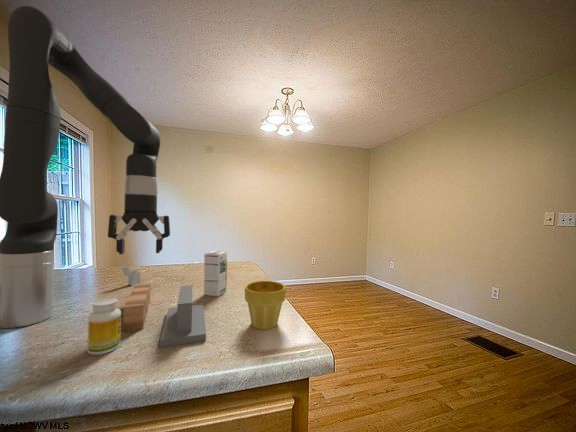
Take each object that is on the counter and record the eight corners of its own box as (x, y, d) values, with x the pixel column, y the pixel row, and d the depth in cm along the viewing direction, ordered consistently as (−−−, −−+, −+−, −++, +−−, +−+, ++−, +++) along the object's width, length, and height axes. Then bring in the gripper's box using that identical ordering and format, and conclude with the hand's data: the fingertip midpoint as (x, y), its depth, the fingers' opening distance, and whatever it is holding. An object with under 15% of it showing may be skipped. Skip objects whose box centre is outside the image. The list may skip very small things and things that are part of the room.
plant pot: (268, 338, 55) (269, 295, 55) (235, 325, 61) (236, 286, 60) (292, 321, 64) (293, 284, 64) (261, 312, 69) (262, 278, 69)
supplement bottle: (85, 348, 49) (86, 301, 49) (117, 338, 53) (118, 295, 53) (89, 359, 45) (91, 308, 45) (123, 348, 49) (124, 301, 49)
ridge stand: (159, 347, 50) (160, 309, 50) (168, 313, 67) (169, 284, 67) (205, 340, 53) (206, 304, 53) (202, 309, 70) (203, 282, 70)
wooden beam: (142, 330, 58) (143, 305, 58) (122, 333, 56) (123, 307, 56) (150, 301, 76) (150, 282, 76) (135, 303, 74) (135, 283, 74)
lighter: (137, 282, 94) (137, 262, 94) (140, 282, 94) (141, 262, 94) (120, 287, 87) (121, 265, 87) (124, 288, 87) (124, 266, 87)
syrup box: (219, 296, 81) (220, 253, 81) (203, 295, 82) (204, 252, 82) (226, 291, 87) (227, 251, 87) (211, 290, 88) (212, 250, 88)
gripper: (104, 191, 59) (104, 257, 60) (169, 194, 65) (168, 254, 65) (114, 193, 66) (113, 252, 67) (171, 195, 72) (170, 250, 72)
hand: (140, 253), depth 66 cm, fingers open, 8 cm apart
